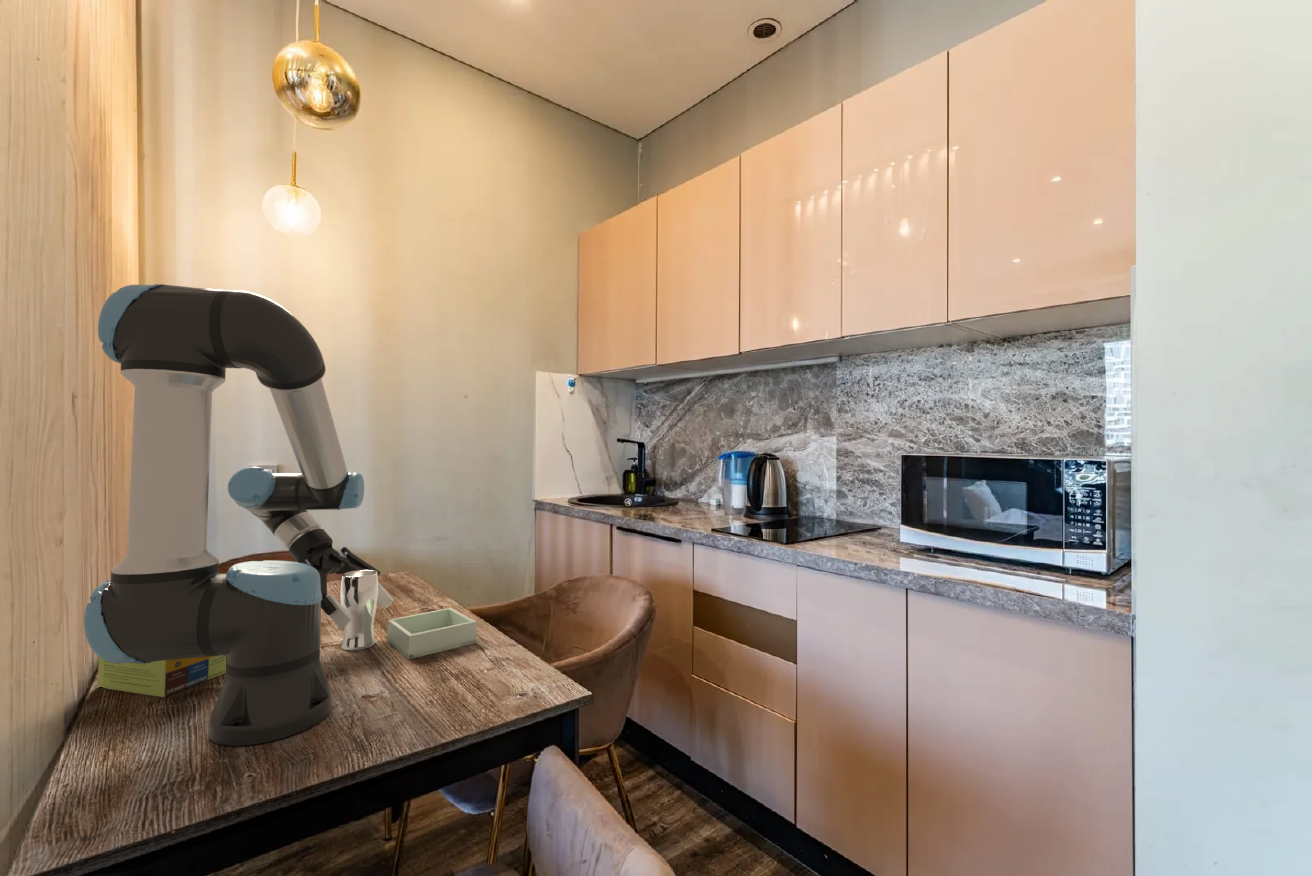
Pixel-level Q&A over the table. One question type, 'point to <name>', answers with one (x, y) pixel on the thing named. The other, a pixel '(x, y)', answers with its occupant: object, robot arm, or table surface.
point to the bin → (431, 632)
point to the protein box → (159, 674)
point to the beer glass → (359, 608)
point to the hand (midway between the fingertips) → (369, 613)
